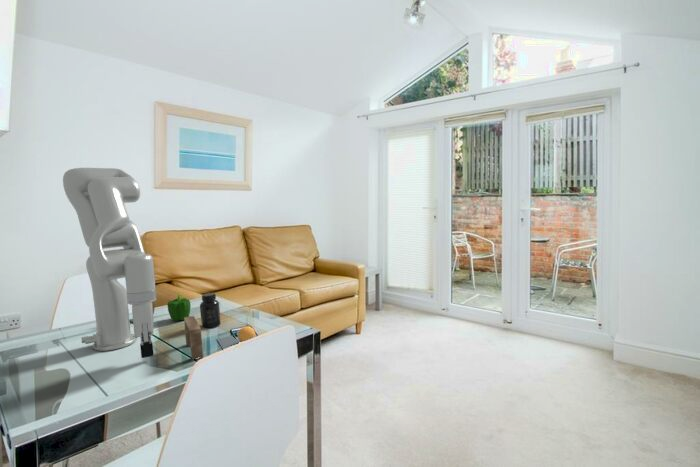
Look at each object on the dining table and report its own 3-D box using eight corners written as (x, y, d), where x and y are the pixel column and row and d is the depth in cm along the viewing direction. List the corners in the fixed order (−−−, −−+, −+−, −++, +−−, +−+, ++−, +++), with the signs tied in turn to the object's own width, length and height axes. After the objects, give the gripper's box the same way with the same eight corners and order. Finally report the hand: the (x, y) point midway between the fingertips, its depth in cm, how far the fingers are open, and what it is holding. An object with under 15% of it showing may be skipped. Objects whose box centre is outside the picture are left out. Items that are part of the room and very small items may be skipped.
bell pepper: (182, 323, 150) (180, 298, 149) (164, 322, 152) (162, 297, 151) (196, 316, 158) (194, 292, 157) (179, 315, 160) (177, 291, 159)
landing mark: (224, 351, 122) (224, 350, 122) (216, 339, 132) (216, 338, 132) (261, 343, 127) (261, 342, 127) (251, 332, 138) (251, 331, 138)
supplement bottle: (223, 322, 149) (221, 292, 148) (216, 328, 143) (213, 296, 141) (206, 322, 150) (204, 292, 149) (198, 328, 143) (195, 297, 142)
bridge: (192, 360, 116) (190, 330, 115) (186, 344, 128) (184, 317, 127) (203, 357, 117) (200, 328, 116) (195, 342, 130) (193, 315, 129)
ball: (253, 347, 126) (237, 343, 123) (249, 343, 131) (234, 339, 128) (259, 330, 127) (243, 326, 124) (255, 327, 132) (240, 323, 129)
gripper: (127, 292, 119) (133, 350, 121) (127, 304, 106) (133, 368, 108) (154, 289, 123) (159, 345, 125) (157, 300, 110) (163, 362, 112)
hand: (147, 355), depth 116 cm, fingers closed
